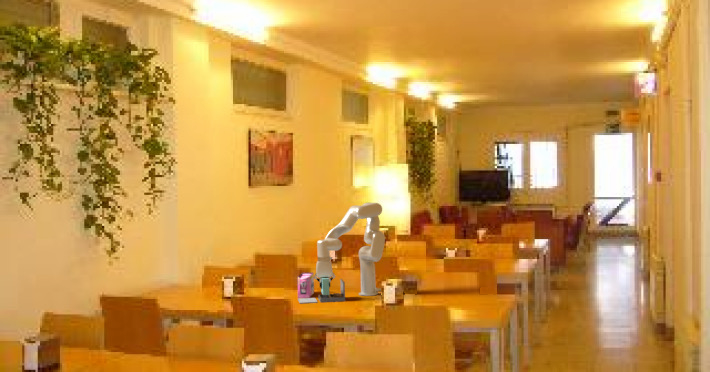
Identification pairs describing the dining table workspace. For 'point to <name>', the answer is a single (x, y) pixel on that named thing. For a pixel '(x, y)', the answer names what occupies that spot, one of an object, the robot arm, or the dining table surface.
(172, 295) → the dining table surface
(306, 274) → the gum box
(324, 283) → the teal board
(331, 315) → the dining table surface
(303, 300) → the mat
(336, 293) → the offcut stack
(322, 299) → the rack
